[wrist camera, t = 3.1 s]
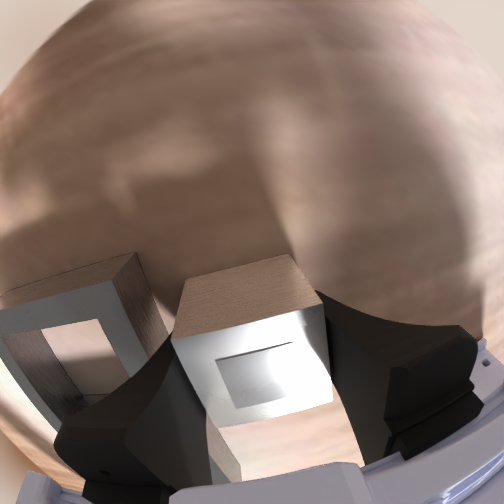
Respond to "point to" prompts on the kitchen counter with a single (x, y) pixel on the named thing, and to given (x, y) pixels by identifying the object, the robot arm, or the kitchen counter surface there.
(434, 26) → the kitchen counter surface
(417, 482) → the robot arm
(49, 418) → the grey rectangular tray
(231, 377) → the gray block
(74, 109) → the kitchen counter surface
